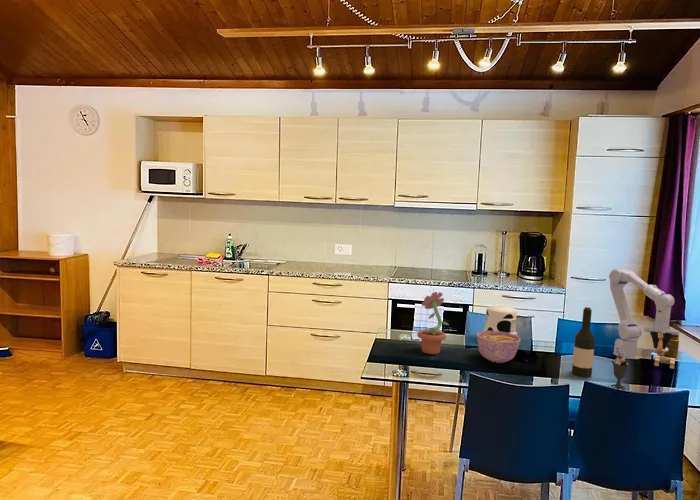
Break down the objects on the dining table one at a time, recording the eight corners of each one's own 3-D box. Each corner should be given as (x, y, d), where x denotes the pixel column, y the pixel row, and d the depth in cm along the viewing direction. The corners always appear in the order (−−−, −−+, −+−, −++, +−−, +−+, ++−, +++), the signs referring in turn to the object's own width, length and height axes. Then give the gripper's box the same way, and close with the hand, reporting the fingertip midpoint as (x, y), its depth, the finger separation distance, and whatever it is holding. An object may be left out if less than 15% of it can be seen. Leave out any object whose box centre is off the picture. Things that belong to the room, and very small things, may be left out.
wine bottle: (567, 371, 239) (573, 305, 236) (585, 371, 240) (591, 305, 237) (577, 377, 231) (583, 309, 228) (595, 378, 232) (602, 310, 229)
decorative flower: (438, 347, 268) (442, 288, 264) (452, 355, 255) (456, 293, 251) (411, 348, 263) (415, 288, 260) (424, 357, 250) (427, 294, 247)
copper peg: (658, 353, 250) (660, 338, 249) (653, 351, 252) (655, 337, 252) (663, 353, 250) (665, 338, 250) (658, 351, 253) (660, 337, 252)
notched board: (673, 368, 250) (674, 363, 250) (654, 365, 254) (654, 360, 254) (674, 363, 259) (674, 358, 258) (655, 360, 263) (655, 355, 262)
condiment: (680, 357, 269) (683, 334, 268) (672, 360, 265) (675, 336, 263) (665, 353, 275) (668, 331, 274) (657, 355, 271) (659, 332, 269)
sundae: (610, 382, 227) (614, 348, 225) (628, 386, 223) (631, 351, 221) (607, 387, 221) (611, 351, 219) (625, 391, 217) (629, 355, 216)
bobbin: (657, 361, 261) (659, 349, 260) (650, 357, 267) (651, 345, 266) (669, 361, 261) (671, 349, 261) (662, 357, 267) (663, 346, 267)
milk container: (480, 336, 292) (483, 304, 290) (513, 339, 290) (516, 306, 288) (484, 345, 275) (486, 311, 273) (518, 348, 273) (521, 313, 271)
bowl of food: (521, 358, 255) (523, 334, 254) (515, 370, 237) (517, 344, 236) (479, 351, 264) (481, 328, 263) (470, 362, 246) (472, 337, 244)
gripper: (647, 320, 248) (644, 348, 249) (682, 323, 244) (679, 352, 245) (643, 317, 255) (640, 344, 256) (677, 320, 251) (674, 348, 252)
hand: (659, 348), depth 251 cm, fingers closed on copper peg, 3 cm apart
